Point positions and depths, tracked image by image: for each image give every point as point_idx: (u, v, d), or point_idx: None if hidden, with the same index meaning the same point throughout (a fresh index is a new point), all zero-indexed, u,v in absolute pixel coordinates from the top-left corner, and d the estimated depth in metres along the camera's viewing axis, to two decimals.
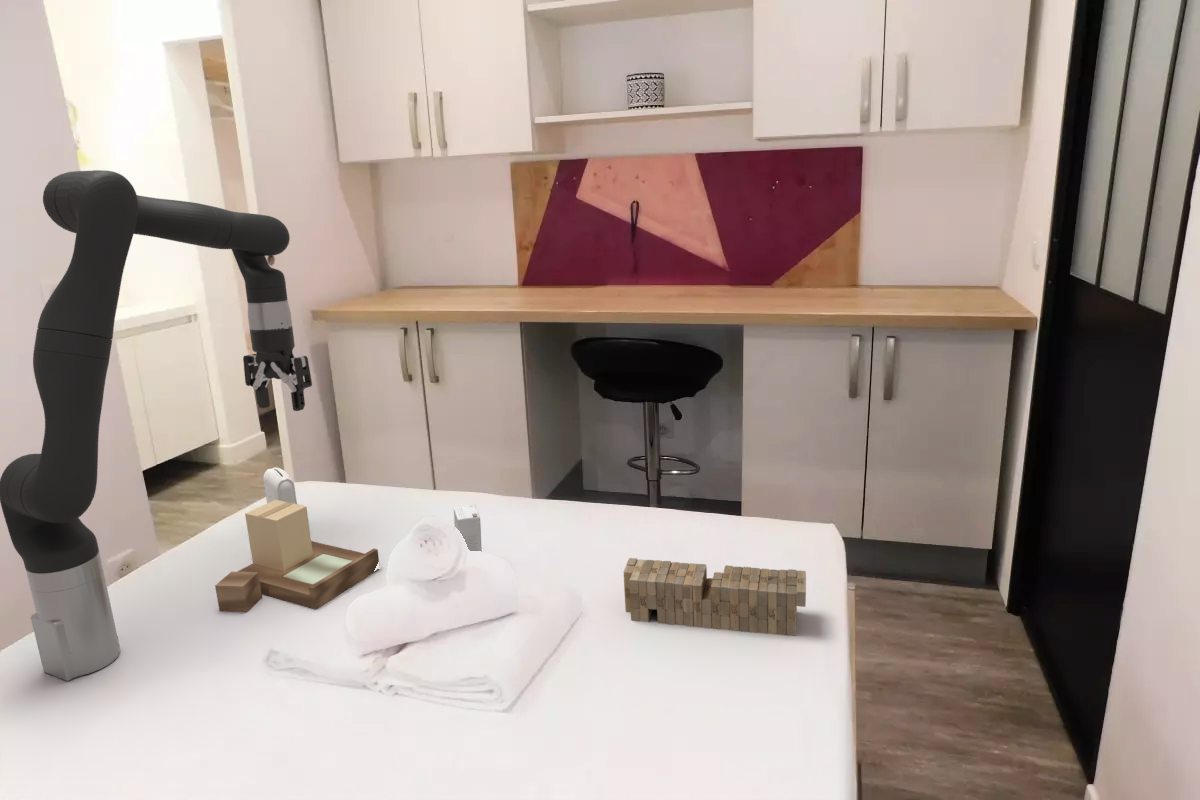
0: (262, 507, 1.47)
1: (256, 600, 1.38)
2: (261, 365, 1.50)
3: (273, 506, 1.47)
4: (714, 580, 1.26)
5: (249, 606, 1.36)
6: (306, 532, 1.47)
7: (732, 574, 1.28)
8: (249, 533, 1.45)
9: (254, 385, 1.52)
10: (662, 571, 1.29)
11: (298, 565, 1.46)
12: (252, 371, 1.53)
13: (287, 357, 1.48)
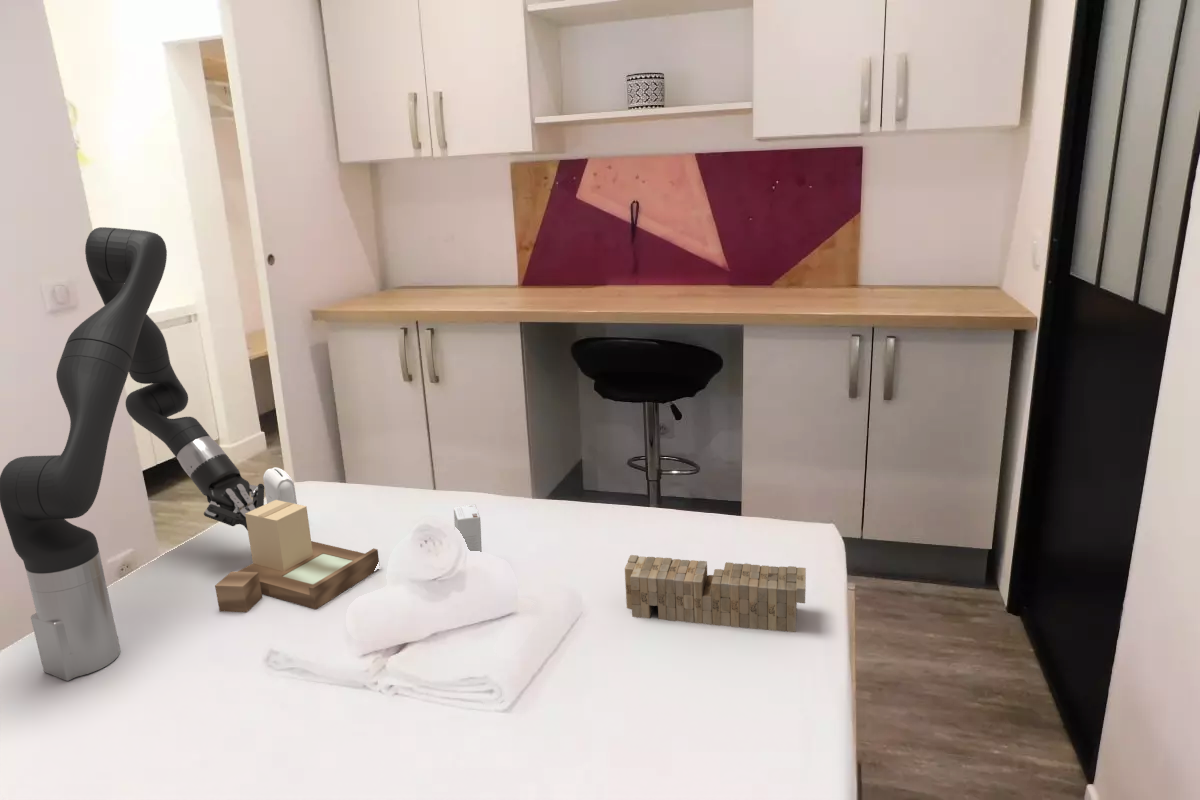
0: (262, 507, 1.47)
1: (256, 600, 1.38)
2: (229, 492, 1.48)
3: (274, 506, 1.47)
4: (714, 577, 1.27)
5: (249, 606, 1.36)
6: (306, 532, 1.47)
7: (732, 571, 1.29)
8: (249, 533, 1.45)
9: None
10: (663, 568, 1.30)
11: (298, 565, 1.46)
12: None
13: (248, 482, 1.53)
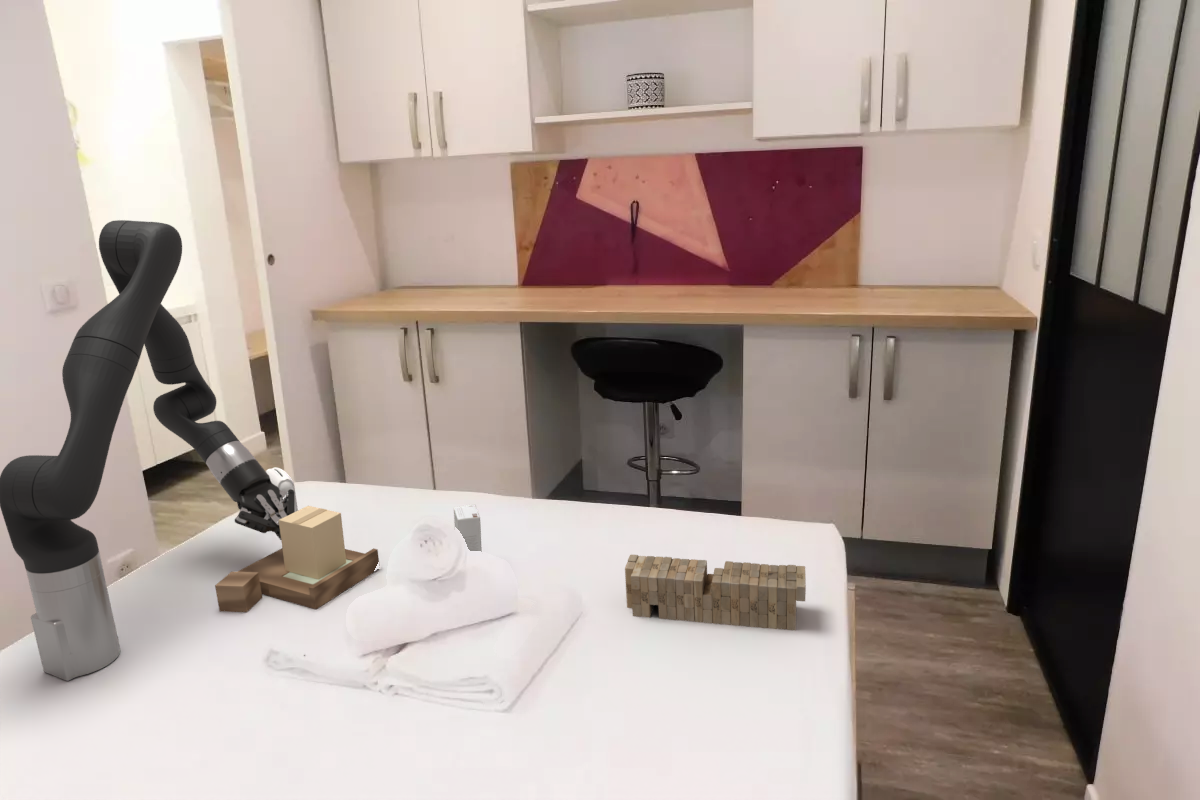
0: (295, 513, 1.44)
1: (256, 600, 1.38)
2: (260, 498, 1.45)
3: (307, 512, 1.44)
4: (715, 576, 1.27)
5: (249, 606, 1.36)
6: (340, 539, 1.44)
7: (733, 570, 1.29)
8: (282, 540, 1.42)
9: (277, 521, 1.45)
10: (663, 567, 1.31)
11: None
12: None
13: None
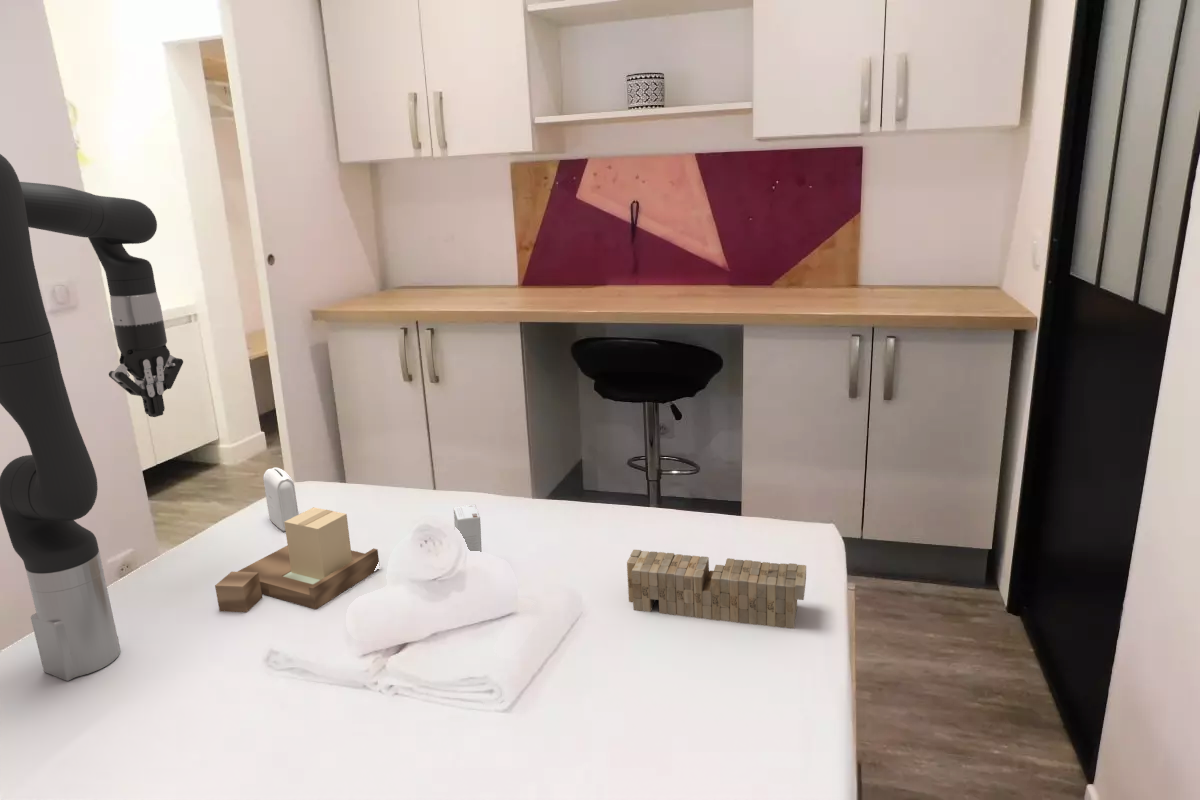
0: (301, 515, 1.43)
1: (256, 600, 1.38)
2: (145, 364, 1.37)
3: (313, 514, 1.43)
4: (715, 572, 1.29)
5: (249, 606, 1.36)
6: (346, 540, 1.44)
7: (733, 567, 1.30)
8: (288, 542, 1.41)
9: (151, 392, 1.39)
10: (664, 563, 1.32)
11: None
12: None
13: (169, 352, 1.42)
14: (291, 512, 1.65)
